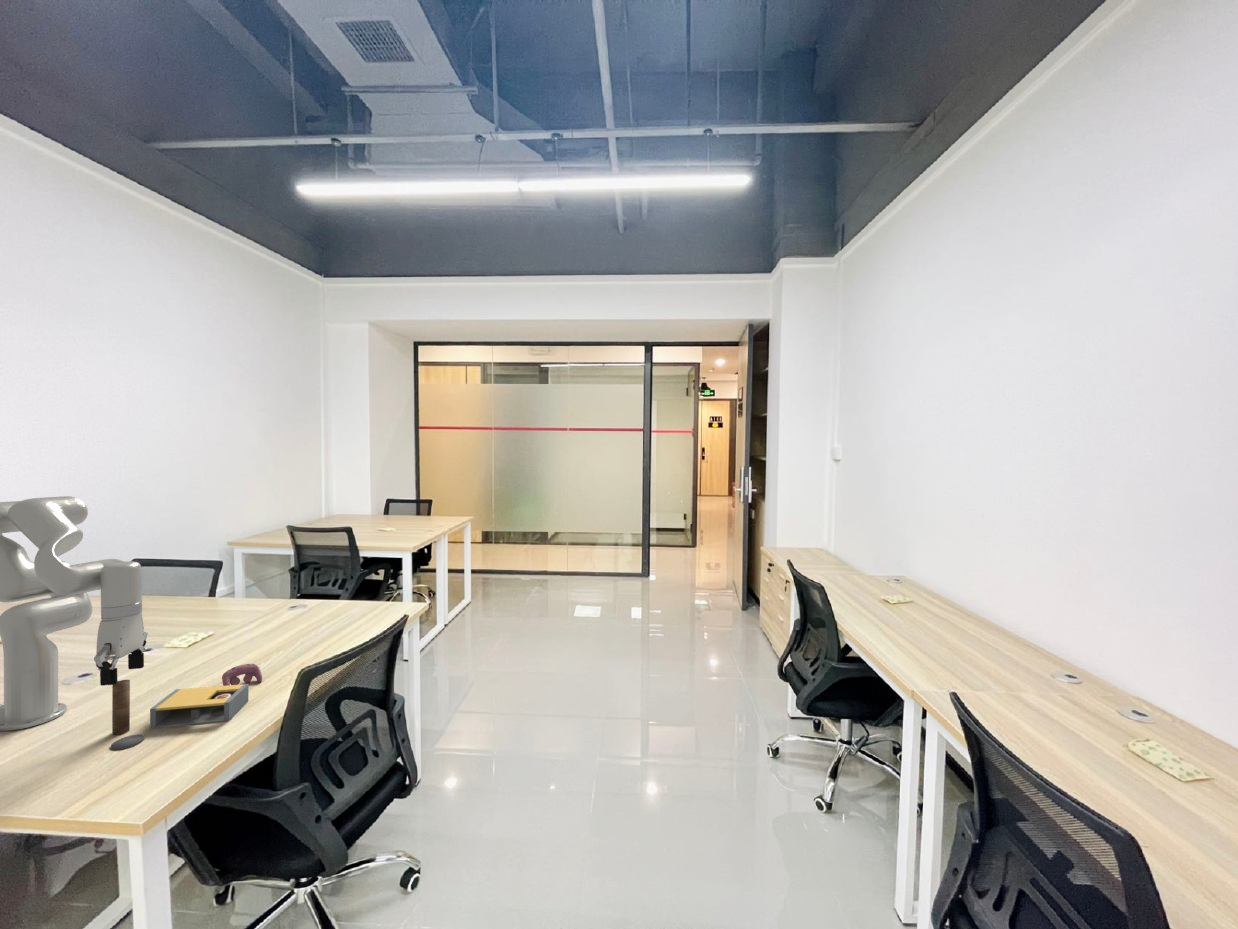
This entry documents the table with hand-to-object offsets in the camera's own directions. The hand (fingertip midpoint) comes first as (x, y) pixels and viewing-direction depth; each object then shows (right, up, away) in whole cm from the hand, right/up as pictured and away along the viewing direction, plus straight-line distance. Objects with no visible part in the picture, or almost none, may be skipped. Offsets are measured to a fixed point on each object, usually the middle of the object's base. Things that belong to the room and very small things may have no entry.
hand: (123, 676), depth 129 cm
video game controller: (+10, -15, +28) cm, 33 cm away
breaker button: (+17, -12, +11) cm, 24 cm away
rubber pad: (+5, -15, -4) cm, 16 cm away
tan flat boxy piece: (+12, -15, +10) cm, 21 cm away
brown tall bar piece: (-1, -15, 0) cm, 15 cm away
